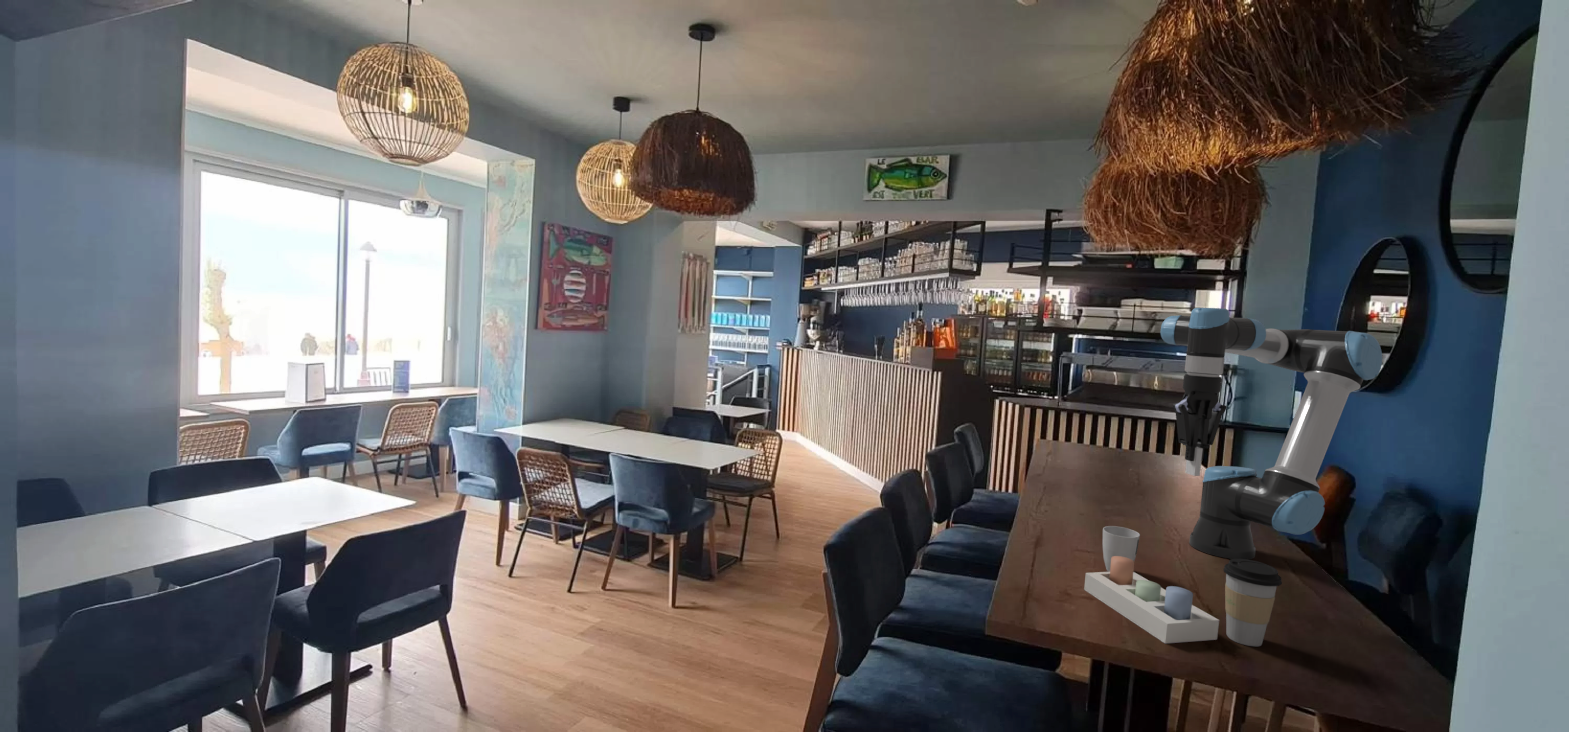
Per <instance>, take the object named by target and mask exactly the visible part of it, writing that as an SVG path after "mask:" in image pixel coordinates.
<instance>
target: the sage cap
mask: <svg viewBox="0 0 1569 732" xmlns="http://www.w3.org/2000/svg"><path fill="white" fill-rule="evenodd" d="M1147 580H1148V579H1147ZM1147 580H1138V581H1136V590H1135V596H1137V597H1139V598H1140V599H1142V600H1144V601H1145V602H1152V601H1160V592H1161V588H1162V586H1161V585H1160V584H1159V583H1157V582H1154V581H1152V580H1149V581H1147Z"/></svg>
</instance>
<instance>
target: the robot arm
mask: <svg viewBox="0 0 1569 732" xmlns="http://www.w3.org/2000/svg"><path fill="white" fill-rule="evenodd" d="M1160 337H1161V339H1162V340H1163V342H1164V343H1166V344H1168V345H1174V346H1185V347H1187V348H1186V353H1185V355H1186V356H1185V363H1184V365H1185V366H1184V372H1186V373H1185V374H1184V375H1183V381H1182V389H1183V390H1184V394H1183V396H1182V400H1181V401H1180V402H1177V403H1176V402H1174V403H1172V408H1173V410H1174V413H1175V419H1176V429H1177V438H1178V443H1179V444H1182V445H1183V446H1185V451H1184V452H1185V453H1184V459H1185V461H1186V462H1185V471H1184V473H1185V474H1188V475H1191V476H1193V477H1199V476H1201V469H1202V468H1201V467H1202V461H1203V460H1204V454H1205V449H1209V448H1210V446H1213V444H1214V442H1215V439H1216V436H1217V434H1218V429H1219V426H1220V423H1221V420H1222V417H1223V414H1224V413H1225V411H1227V405H1226V404H1222V403H1220V402H1219V396H1218V394H1219V393H1221V391H1222V384H1223V378H1222V377H1221V375H1223V374H1224V365H1225V356H1226V354H1225V353H1227V354H1233V355H1237V356H1238V355H1239V356H1243V357H1249V358H1254V359H1255V360H1256V361H1258V362H1259V363H1261V364H1266V365H1271V366H1275V367H1278V368H1283V369H1286V370H1290V371H1293V372H1299V373H1303V376H1304V378H1305V380H1307V384H1306V386H1305V390H1304V393H1303V394H1302V396H1301V399H1300V401H1299V405H1298V407H1297V409H1296V411H1295V414H1294V416H1293V419H1292V421H1291V424H1290V427H1289V429H1288V431H1287V435H1286V437H1285V439H1284V441H1283V444H1282V446H1281V449H1280V451H1279V454H1278V457H1277V459H1276V461H1275V464H1274V466H1273V467H1269V468H1266V469H1265V470H1264V472H1263V475H1262V476H1261V477H1259V476H1258V473H1257V470H1256V469H1254V468H1251V467H1243V466H1232V465H1230V466H1229V465H1228V466H1227V465H1226V466H1225V465H1216V466H1209V467H1207V468H1206V469H1205V471H1204V474H1203V480H1202V487H1201V488H1202V491H1201V497H1200V498H1201V499H1200V510H1199V517H1198V519H1197V521H1196V523H1195V525H1194V528H1193V530H1192V532H1191V533H1190V535H1189V539H1188V541H1189V542H1188V543H1189V545H1190V546H1191V547H1192V548H1194V549H1195V550H1197V551H1200V552H1202V553H1205V554H1208V555H1211V556H1215V557H1218V558H1224V559H1225V558H1226V559H1230V560H1231V559H1248V560H1252V559H1254V558H1255V557H1256V545H1255V544H1254V541H1253V540H1254V539H1253V534H1252V530H1251V523H1256V524H1259V525H1262V526H1265V527H1268V528H1271V529H1274V530H1276V531H1278V532H1281V533H1287V534H1291V535H1296V536H1297V535H1303V534H1307V533H1308V532H1310V531H1312V530H1313V529H1314V528H1315V527H1316V526H1318V524H1319V523H1320V521H1321V519H1323V516H1324V513H1325V504H1326V502H1325V499H1324V497H1323V495H1322V494H1321V493H1319V492H1320V490H1321V487H1320V485H1319V484H1318V482H1317V480H1316V478H1317V476H1318V473H1319V471H1320V468H1321V466H1322V464H1323V460H1324V458H1325V455H1326V453H1327V451H1328V448H1329V446H1330V443H1331V440H1332V438H1333V435H1334V433H1335V430H1336V429H1337V425H1338V423H1339V420H1340V419H1341V416H1342V413H1343V410H1344V408H1345V405H1346V404H1347V400H1348V398H1349V395H1350V394H1351V393H1352V392H1354V391H1358V390H1359V389H1361V386H1362V383H1363V381H1368V380H1374V379H1375V378H1376V377H1377V376H1378V375H1379V374H1380V371H1381V369H1382V364H1383V352H1382V349H1381V345H1380V343H1379V341H1378V340H1377V338H1376V337H1375V336H1374V335H1372V334H1370V333H1367V332H1359V331H1353V330H1347V331H1345V330H1343V331H1342V330H1322V329H1300V328H1299V329H1278V328H1266V327H1265V324H1263V323H1262V322H1261V321H1260V320H1258V319H1256V318H1254V319H1253V318H1250V317H1230V311H1229V310H1228V309H1227V308H1222V307H1221V308H1219V307H1217V308H1215V307H1194V308H1193V309H1192V310H1191V312H1190V315H1183V314H1181V315H1170V316H1168V317H1166V318H1165V319H1164V321H1162V323H1161V328H1160Z"/></svg>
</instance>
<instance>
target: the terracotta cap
mask: <svg viewBox="0 0 1569 732" xmlns="http://www.w3.org/2000/svg"><path fill="white" fill-rule="evenodd" d="M1134 567H1135V560H1134V561H1133V560H1131V559H1129V558H1126V557H1121V556H1113V557H1111V567H1110V577H1109V580H1111V581H1112V582H1114V583H1116V584H1118V585H1132V581H1133V572H1135V571H1134V569H1135V568H1134Z"/></svg>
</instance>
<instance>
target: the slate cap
mask: <svg viewBox="0 0 1569 732" xmlns="http://www.w3.org/2000/svg"><path fill="white" fill-rule="evenodd" d="M1165 588H1166V589H1165V590H1166V596H1165V605H1164V613H1165V614H1167V615H1168V616H1170V617H1172V618H1173V619H1176V620H1189V619H1190V617H1191V608H1192V605H1193V597H1194V594H1193V592H1192V591H1190V590H1189V589H1186V588H1183V587H1180V586H1175V585H1174V586H1173V585H1170V586H1167V587H1165Z"/></svg>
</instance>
